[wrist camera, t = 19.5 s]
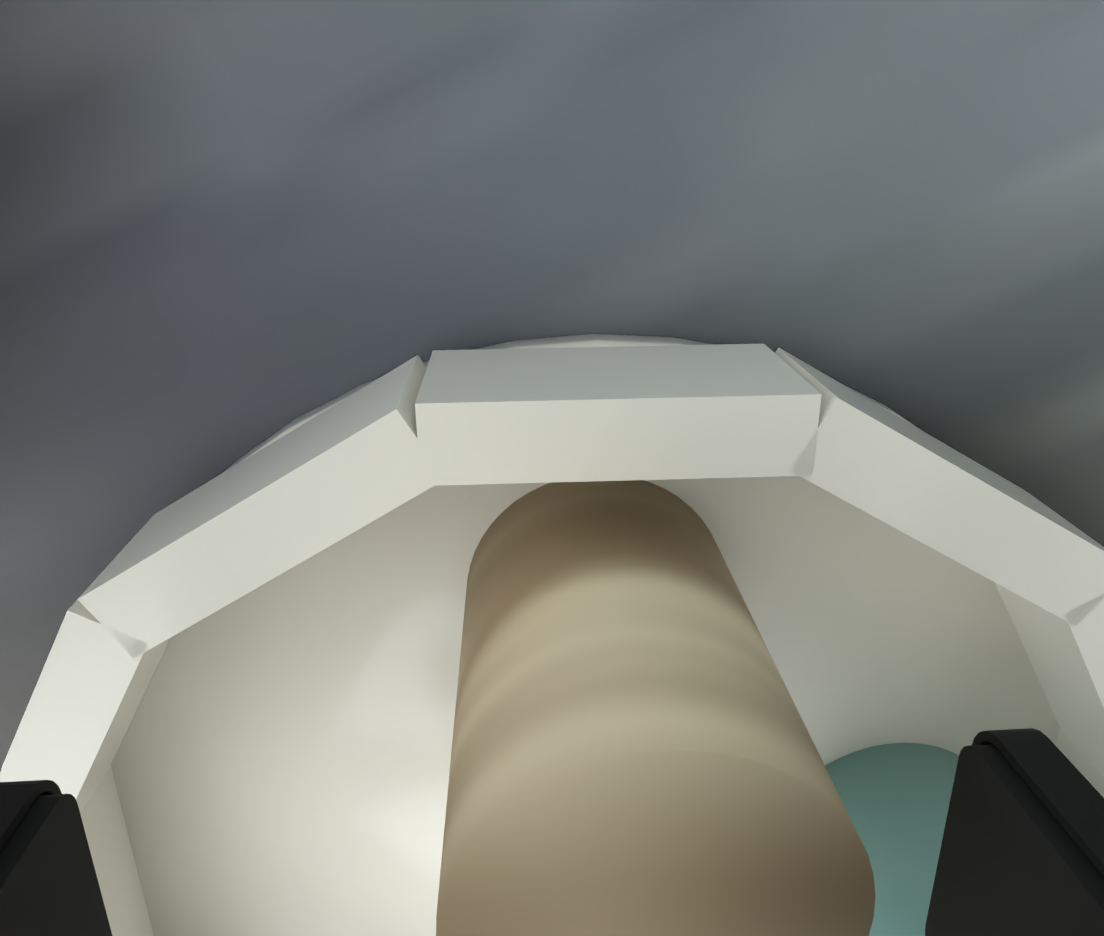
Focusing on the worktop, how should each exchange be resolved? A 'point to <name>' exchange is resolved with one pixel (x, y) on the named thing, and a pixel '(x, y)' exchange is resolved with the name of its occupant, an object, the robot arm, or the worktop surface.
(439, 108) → the worktop surface
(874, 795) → the teal bead
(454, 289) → the worktop surface
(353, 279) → the worktop surface
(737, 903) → the maple bead
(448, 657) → the groove tray
